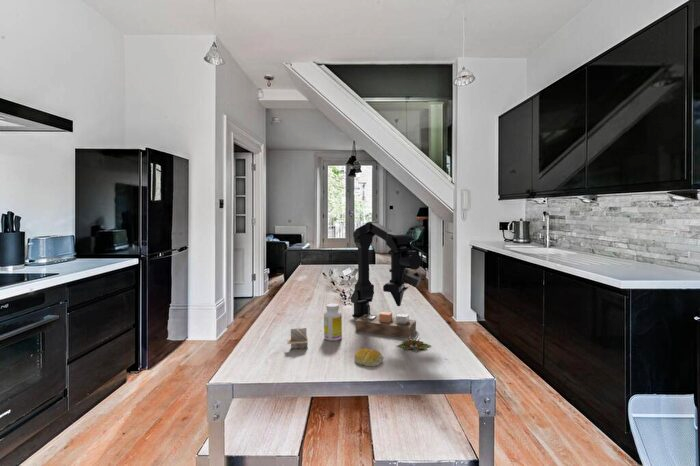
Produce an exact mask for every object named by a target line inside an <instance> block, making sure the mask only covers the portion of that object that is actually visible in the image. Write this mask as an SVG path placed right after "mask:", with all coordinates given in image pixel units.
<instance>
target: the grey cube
mask: <svg viewBox="0 0 700 466" xmlns="http://www.w3.org/2000/svg"><path fill="white" fill-rule="evenodd" d="M371 315H372V314H370V315H366V316H365V317H363V319H364V320H372V321H373V320H374V319H376V316H371Z"/></svg>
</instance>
